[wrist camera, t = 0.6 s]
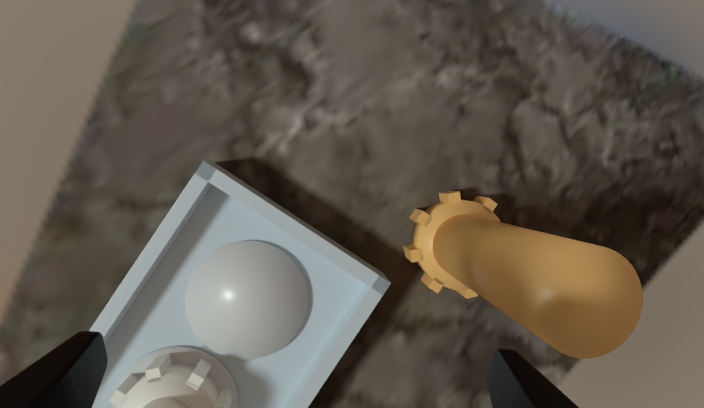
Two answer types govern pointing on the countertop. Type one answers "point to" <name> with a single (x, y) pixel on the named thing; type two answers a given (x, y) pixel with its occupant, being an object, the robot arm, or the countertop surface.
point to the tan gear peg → (528, 275)
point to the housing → (232, 305)
